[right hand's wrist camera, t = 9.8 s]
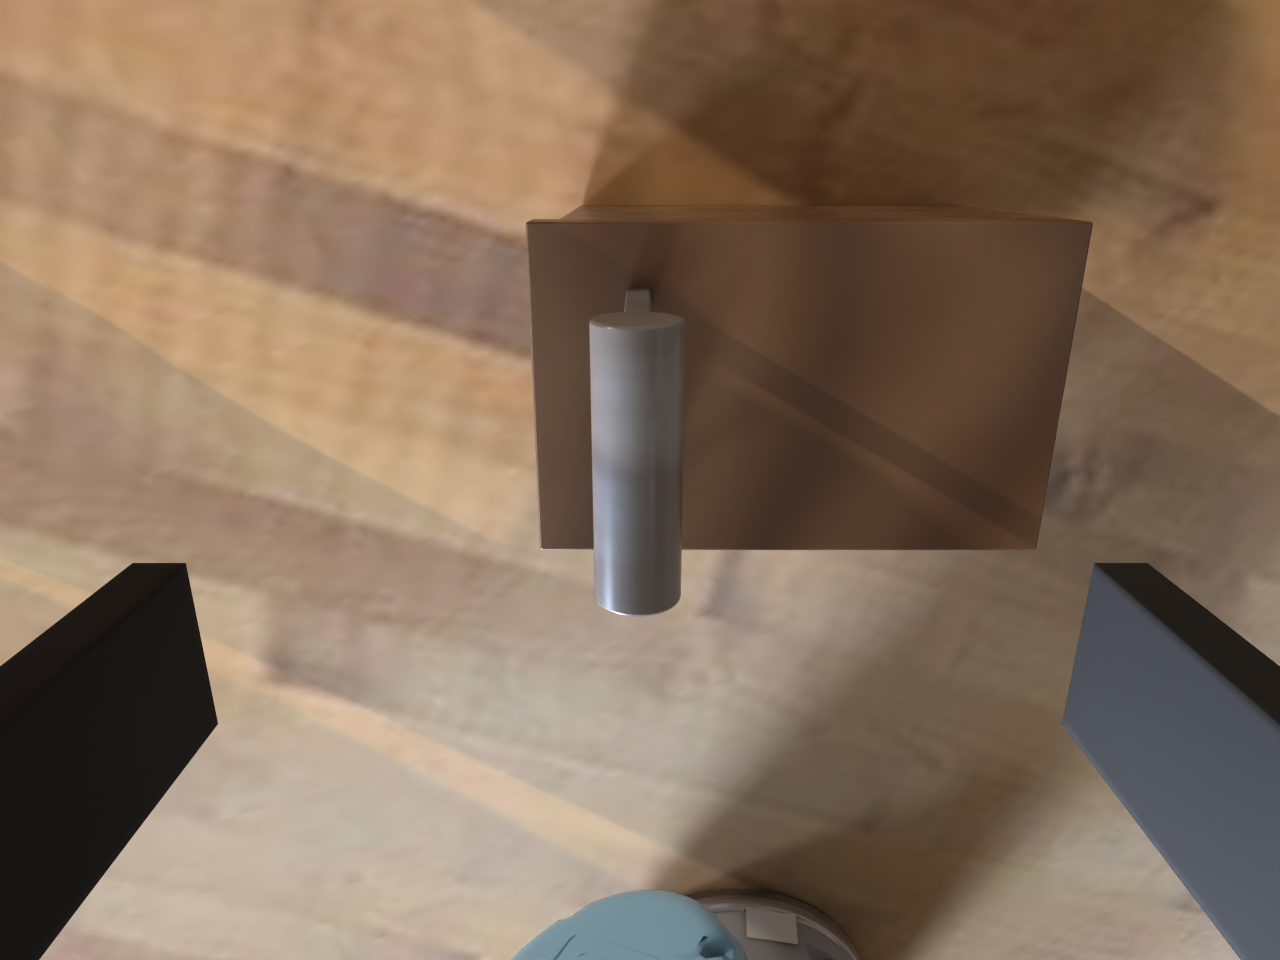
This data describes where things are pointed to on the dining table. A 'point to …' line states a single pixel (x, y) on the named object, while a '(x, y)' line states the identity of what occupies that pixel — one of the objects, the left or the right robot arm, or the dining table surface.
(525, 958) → the left robot arm
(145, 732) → the right robot arm
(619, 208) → the chest
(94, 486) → the dining table surface
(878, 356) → the lid
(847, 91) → the dining table surface
